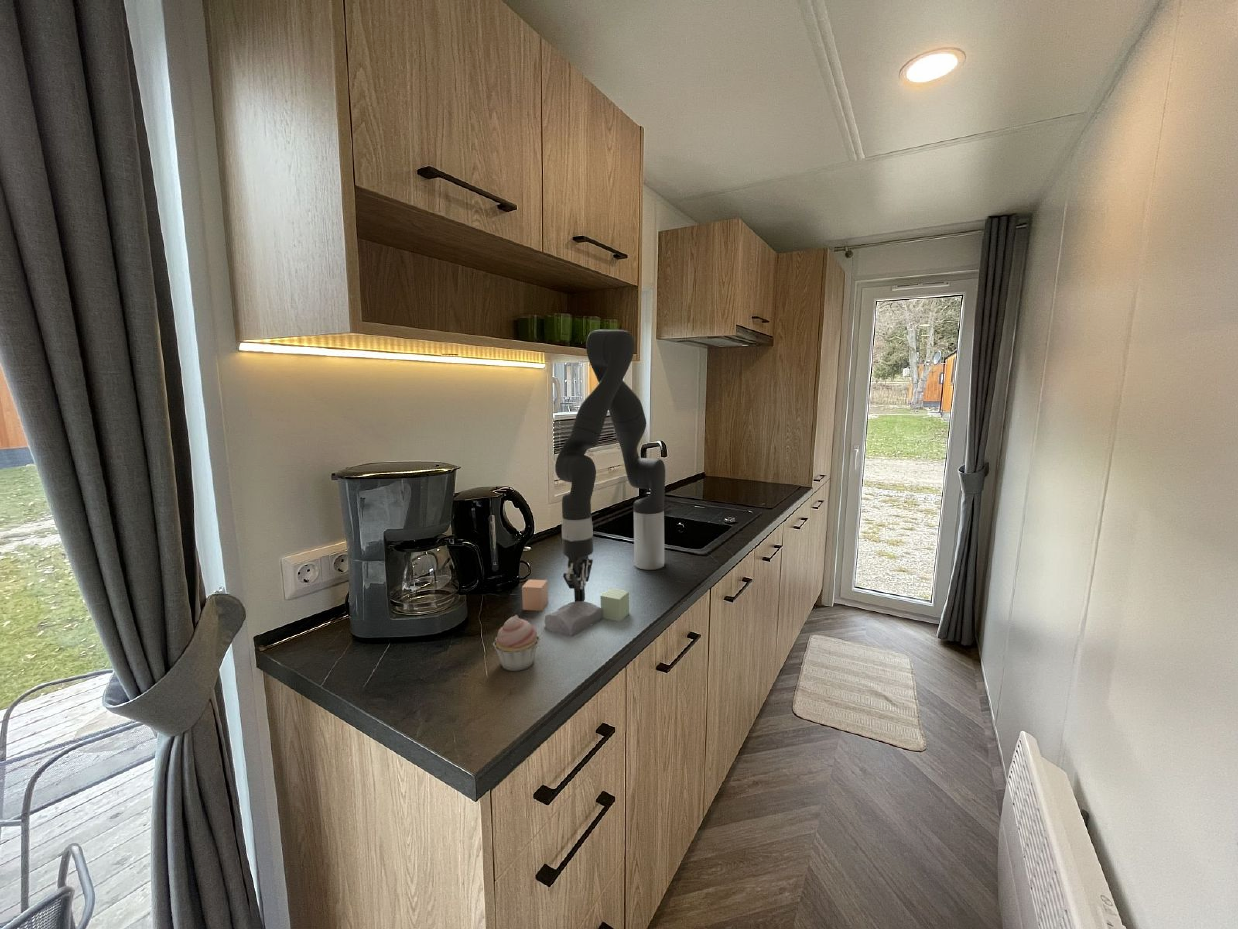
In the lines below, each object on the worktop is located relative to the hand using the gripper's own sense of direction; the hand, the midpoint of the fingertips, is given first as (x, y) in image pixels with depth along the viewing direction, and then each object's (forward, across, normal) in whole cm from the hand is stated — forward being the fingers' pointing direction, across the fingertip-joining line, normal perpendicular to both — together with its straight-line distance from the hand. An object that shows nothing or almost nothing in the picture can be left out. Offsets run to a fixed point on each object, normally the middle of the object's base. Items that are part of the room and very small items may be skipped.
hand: (579, 601), depth 125 cm
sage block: (+2, +2, +10) cm, 10 cm away
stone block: (+2, +8, +2) cm, 9 cm away
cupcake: (+2, +28, -1) cm, 28 cm away
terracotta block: (+2, +3, -11) cm, 11 cm away
